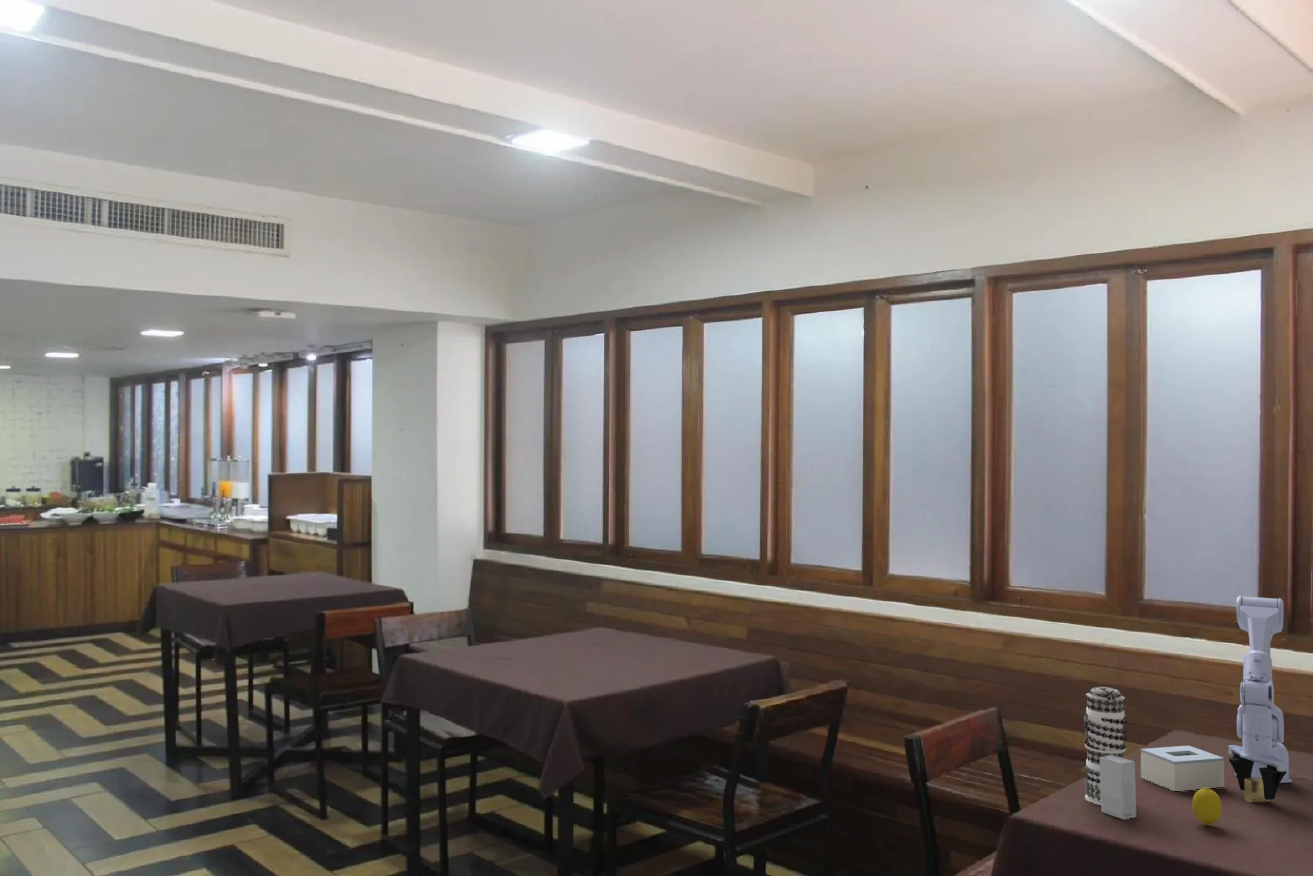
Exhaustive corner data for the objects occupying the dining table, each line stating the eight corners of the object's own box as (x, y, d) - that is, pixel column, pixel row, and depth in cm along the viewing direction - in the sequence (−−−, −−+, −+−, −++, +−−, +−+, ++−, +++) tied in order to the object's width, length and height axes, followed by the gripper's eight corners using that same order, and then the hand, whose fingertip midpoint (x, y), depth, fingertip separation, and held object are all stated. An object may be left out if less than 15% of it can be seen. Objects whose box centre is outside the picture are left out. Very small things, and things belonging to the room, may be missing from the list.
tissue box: (1188, 774, 255) (1188, 745, 255) (1224, 788, 244) (1224, 758, 244) (1140, 778, 251) (1140, 749, 251) (1174, 792, 241) (1174, 761, 241)
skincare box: (1137, 818, 222) (1137, 761, 223) (1122, 821, 220) (1122, 763, 221) (1113, 809, 228) (1113, 753, 228) (1098, 812, 226) (1098, 756, 226)
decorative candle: (1133, 800, 234) (1133, 689, 235) (1119, 810, 227) (1119, 695, 228) (1092, 791, 240) (1092, 683, 241) (1077, 800, 234) (1077, 689, 234)
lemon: (1225, 831, 215) (1225, 792, 215) (1196, 829, 216) (1196, 790, 216) (1216, 822, 220) (1216, 784, 220) (1188, 820, 221) (1188, 782, 222)
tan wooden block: (1262, 799, 237) (1262, 776, 237) (1269, 801, 235) (1269, 779, 235) (1244, 800, 235) (1244, 778, 235) (1251, 803, 233) (1251, 781, 233)
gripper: (1217, 727, 241) (1217, 786, 241) (1269, 743, 227) (1269, 806, 227) (1242, 725, 243) (1242, 783, 243) (1295, 741, 229) (1295, 803, 229)
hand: (1257, 794), depth 235 cm, fingers open, 6 cm apart
